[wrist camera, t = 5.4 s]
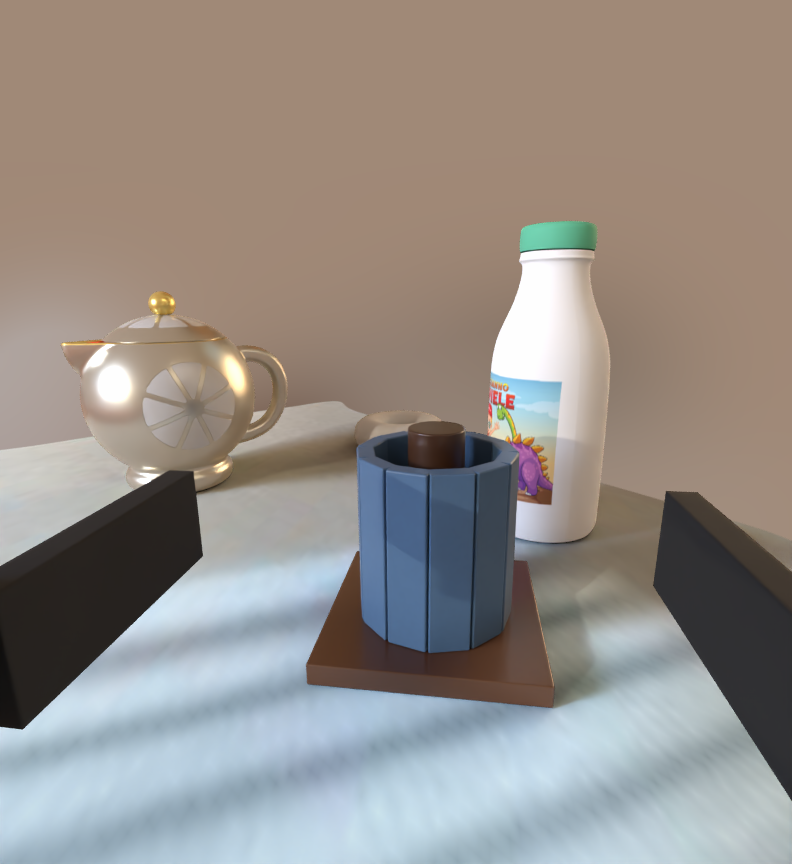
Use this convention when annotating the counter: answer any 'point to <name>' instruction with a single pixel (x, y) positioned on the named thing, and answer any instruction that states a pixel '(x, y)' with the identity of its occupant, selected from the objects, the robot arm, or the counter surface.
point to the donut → (388, 423)
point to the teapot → (172, 395)
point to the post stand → (422, 671)
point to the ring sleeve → (437, 543)
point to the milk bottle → (553, 384)
